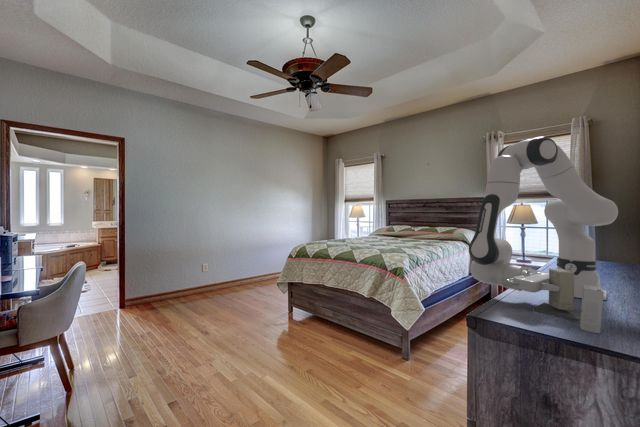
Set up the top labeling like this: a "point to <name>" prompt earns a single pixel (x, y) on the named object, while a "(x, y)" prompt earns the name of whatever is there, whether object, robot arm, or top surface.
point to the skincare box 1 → (562, 289)
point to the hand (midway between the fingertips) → (564, 286)
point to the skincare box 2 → (591, 308)
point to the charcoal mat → (558, 312)
